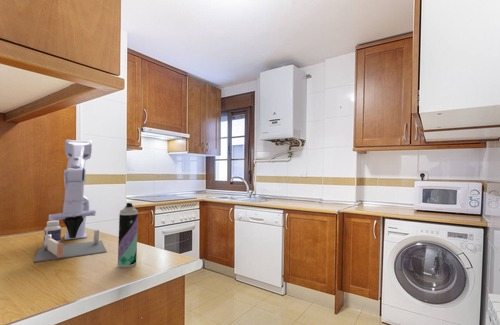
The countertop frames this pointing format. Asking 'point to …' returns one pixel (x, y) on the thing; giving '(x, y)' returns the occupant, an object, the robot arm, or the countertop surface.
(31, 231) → the countertop surface
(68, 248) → the mat
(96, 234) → the posts
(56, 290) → the countertop surface
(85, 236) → the robot arm
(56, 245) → the gate
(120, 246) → the spray can
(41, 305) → the countertop surface
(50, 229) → the pill bottle
